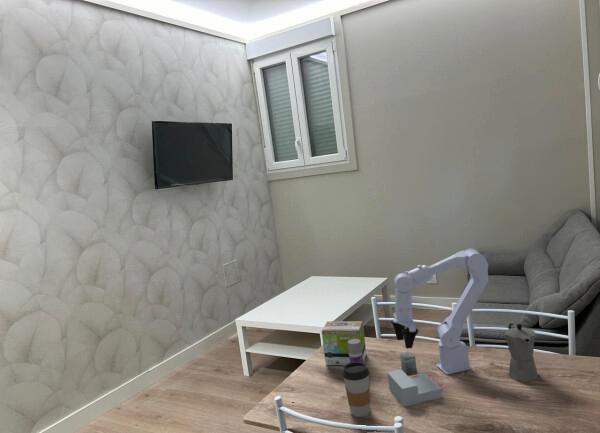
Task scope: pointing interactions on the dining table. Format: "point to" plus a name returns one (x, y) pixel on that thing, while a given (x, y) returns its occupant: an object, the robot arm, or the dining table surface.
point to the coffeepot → (521, 353)
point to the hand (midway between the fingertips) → (404, 343)
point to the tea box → (341, 340)
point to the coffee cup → (357, 388)
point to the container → (355, 350)
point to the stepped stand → (413, 387)
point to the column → (408, 363)
